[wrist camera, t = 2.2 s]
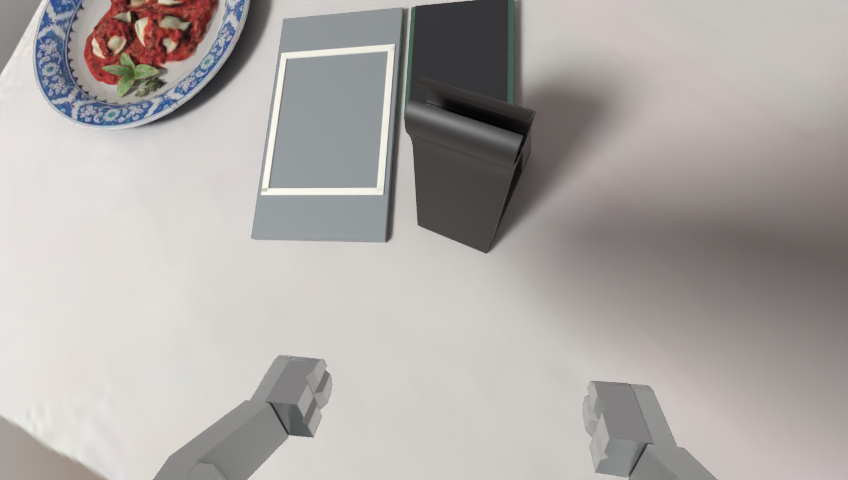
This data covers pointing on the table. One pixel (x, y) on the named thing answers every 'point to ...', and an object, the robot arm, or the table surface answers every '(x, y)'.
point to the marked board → (331, 129)
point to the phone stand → (465, 160)
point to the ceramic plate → (130, 56)
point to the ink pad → (462, 48)
